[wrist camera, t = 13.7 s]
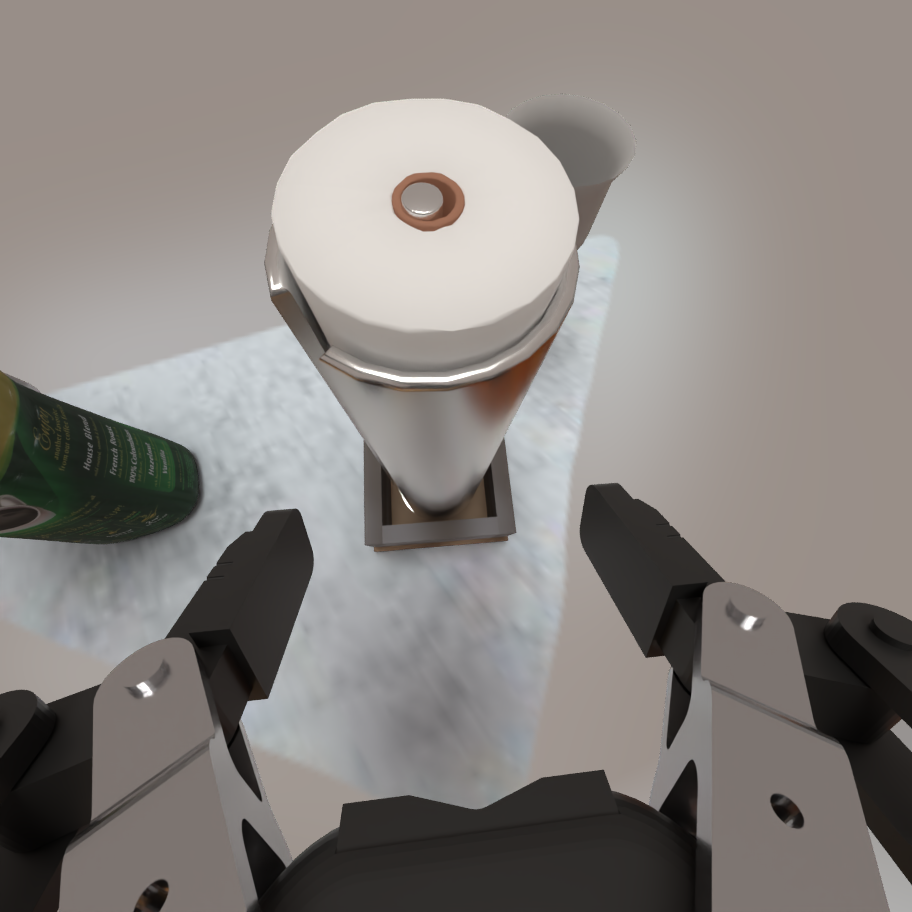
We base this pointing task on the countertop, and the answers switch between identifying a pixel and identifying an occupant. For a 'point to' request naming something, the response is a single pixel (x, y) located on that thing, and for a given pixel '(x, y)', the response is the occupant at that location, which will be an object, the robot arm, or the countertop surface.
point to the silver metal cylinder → (425, 281)
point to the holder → (404, 529)
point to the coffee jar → (85, 473)
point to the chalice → (581, 145)
